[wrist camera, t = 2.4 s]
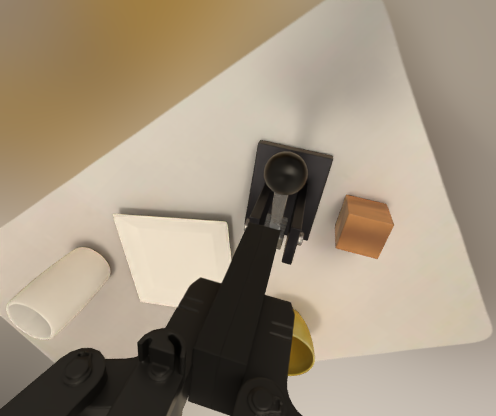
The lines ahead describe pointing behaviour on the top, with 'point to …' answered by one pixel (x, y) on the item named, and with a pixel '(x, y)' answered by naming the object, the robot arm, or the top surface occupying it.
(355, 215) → the brown wooden cube
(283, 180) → the lever
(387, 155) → the top surface
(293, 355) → the yellow bowl
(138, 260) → the plate
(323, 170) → the black lever base
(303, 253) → the top surface
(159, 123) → the top surface
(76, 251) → the cup
